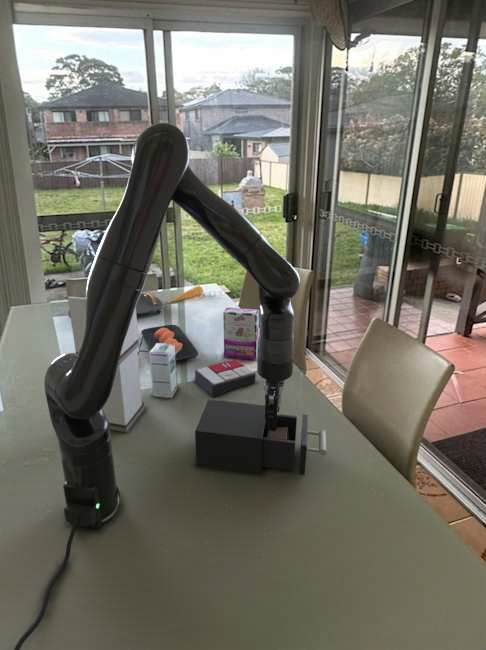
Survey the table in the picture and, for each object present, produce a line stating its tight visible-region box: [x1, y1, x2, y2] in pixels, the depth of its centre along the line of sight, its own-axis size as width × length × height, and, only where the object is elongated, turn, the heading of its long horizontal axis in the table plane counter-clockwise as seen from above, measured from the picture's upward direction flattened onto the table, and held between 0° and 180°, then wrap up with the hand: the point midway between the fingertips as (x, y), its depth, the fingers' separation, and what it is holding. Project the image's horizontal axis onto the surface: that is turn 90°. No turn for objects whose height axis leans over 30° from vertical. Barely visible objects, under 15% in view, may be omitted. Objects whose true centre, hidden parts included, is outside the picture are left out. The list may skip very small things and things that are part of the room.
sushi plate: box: [137, 324, 199, 362], centre depth 153 cm, size 29×30×4 cm
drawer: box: [261, 413, 328, 476], centre depth 99 cm, size 18×11×8 cm, turn 78°
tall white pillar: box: [67, 295, 145, 433], centre depth 110 cm, size 11×11×35 cm
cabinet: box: [194, 399, 266, 476], centre depth 102 cm, size 15×13×10 cm
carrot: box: [166, 285, 204, 304], centre depth 202 cm, size 20×4×4 cm, turn 130°
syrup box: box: [148, 343, 178, 399], centre depth 125 cm, size 6×6×14 cm
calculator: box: [194, 358, 257, 398], centre depth 132 cm, size 11×4×15 cm
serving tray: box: [67, 291, 164, 319], centre depth 185 cm, size 39×23×6 cm, turn 118°
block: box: [267, 427, 289, 440], centre depth 100 cm, size 4×4×4 cm
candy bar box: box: [223, 307, 260, 361], centre depth 146 cm, size 11×5×16 cm, turn 76°
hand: (272, 420), depth 98 cm, fingers open, 6 cm apart
